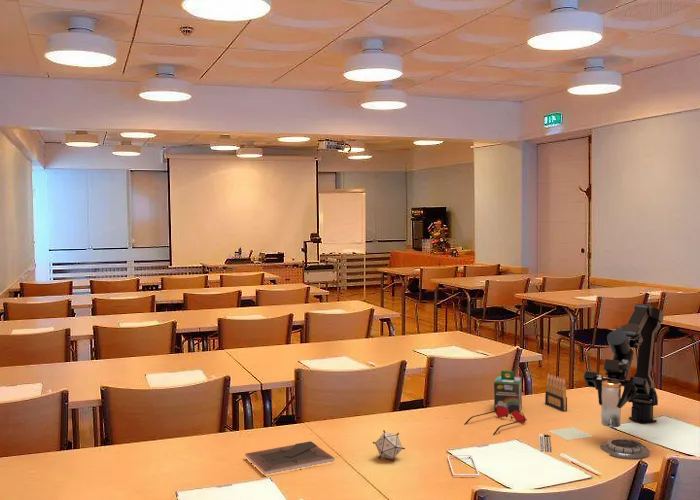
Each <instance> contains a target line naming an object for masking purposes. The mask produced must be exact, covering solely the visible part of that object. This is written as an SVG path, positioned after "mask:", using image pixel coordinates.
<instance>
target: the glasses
mask: <svg viewBox="0 0 700 500" xmlns="http://www.w3.org/2000/svg"><path fill="white" fill-rule="evenodd" d="M496 408H497V410H496V411H494V410H492V411H488V412H484V413H480V414H477V415H472V416H471V417H470V418H468V419H467V420H466V422H465V423H464V424H463V425H464V426H466V425H467V424H468V423H469V421H470V420H472V419H473V418H475V417H480V416H485V415H488V414H493V413H495V414H496V417H497V418H499V419H500V418H508V417H509V413H508V412H509V408H507V407H503V406H498V405H497V407H496ZM510 410H512V409H510ZM510 414H511V415H510V419H511V420H513V419H514V420H515V421H512V422H510V423H505V424H502V425H500V426H498V428H496V430H495V431H494V432H493V434H492V436H495V435H496V434H497V432H498V431H499V430H500V429H501V428H503V427H506V426H509V425H513V424H517V423H519V424H525V423H526V421H528V419H527V418H526V417H525V414H524V413H523V412H521V411H520V413H519V411H517V410H514V411H513V412H512V413H510Z"/></svg>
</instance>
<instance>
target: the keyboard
mask: <svg viewBox="0 0 700 500" xmlns="http://www.w3.org/2000/svg"><path fill="white" fill-rule="evenodd" d="M538 435H539V437H538V438H539V452H540V453H545V452H546V453H552V452H553V450H552V440H551V437H552V436H551V435H550V434H546V433H538Z"/></svg>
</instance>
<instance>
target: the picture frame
mask: <svg viewBox="0 0 700 500" xmlns="http://www.w3.org/2000/svg"><path fill="white" fill-rule="evenodd" d="M244 455H245V456H246V457H247V458H248V459H249V460H250V461H251V462H252V463H253V464H254V465H256V466H257V467H258V468H259V469H260V470H261V471H262V472H263V473H264V474H265V475H266V474H271V473H276V472H281V471H286V470H292V469H297V468H302V467H308V466H312V465H317V464H322V463H327V462H333V461H335V457H334V456H333V455H331V454H330V453H328V452H326V451H325V450H323V448H321V447H319V446H318V445H317V444H316V443H314V442H313V441H312V440H310V441H305V442H299V443H295V444H291V445H285V446H280V447H275V448H274V447H273V448H269V449H264V450H259V451H258V450H257V451H252V452H247V453H245V454H244ZM245 456H244V457H245ZM335 462H336V461H335Z"/></svg>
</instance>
